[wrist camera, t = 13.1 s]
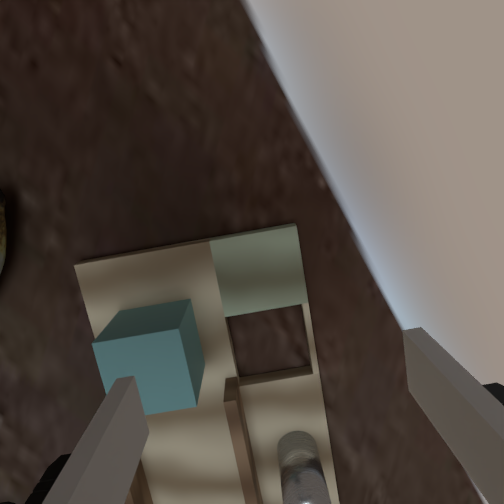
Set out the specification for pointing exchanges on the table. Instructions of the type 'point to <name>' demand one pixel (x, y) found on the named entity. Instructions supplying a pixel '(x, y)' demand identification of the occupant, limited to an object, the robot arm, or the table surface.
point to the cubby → (139, 492)
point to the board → (218, 359)
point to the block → (154, 354)
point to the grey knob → (301, 470)
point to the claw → (2, 230)
